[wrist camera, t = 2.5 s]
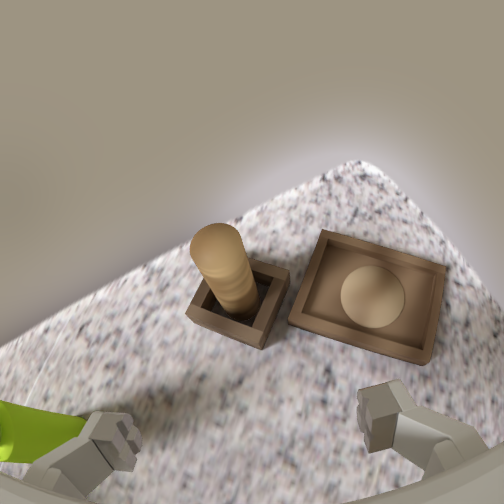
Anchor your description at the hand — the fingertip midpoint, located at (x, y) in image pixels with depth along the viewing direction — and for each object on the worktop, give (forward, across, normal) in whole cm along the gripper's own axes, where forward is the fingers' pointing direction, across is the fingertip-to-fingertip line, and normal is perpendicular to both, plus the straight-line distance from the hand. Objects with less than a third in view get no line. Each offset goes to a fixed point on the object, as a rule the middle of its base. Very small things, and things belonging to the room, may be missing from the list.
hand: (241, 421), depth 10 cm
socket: (+23, +2, +6) cm, 24 cm away
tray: (+22, -12, +7) cm, 26 cm away
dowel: (+23, +2, +6) cm, 24 cm away
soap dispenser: (+13, +23, +17) cm, 31 cm away
